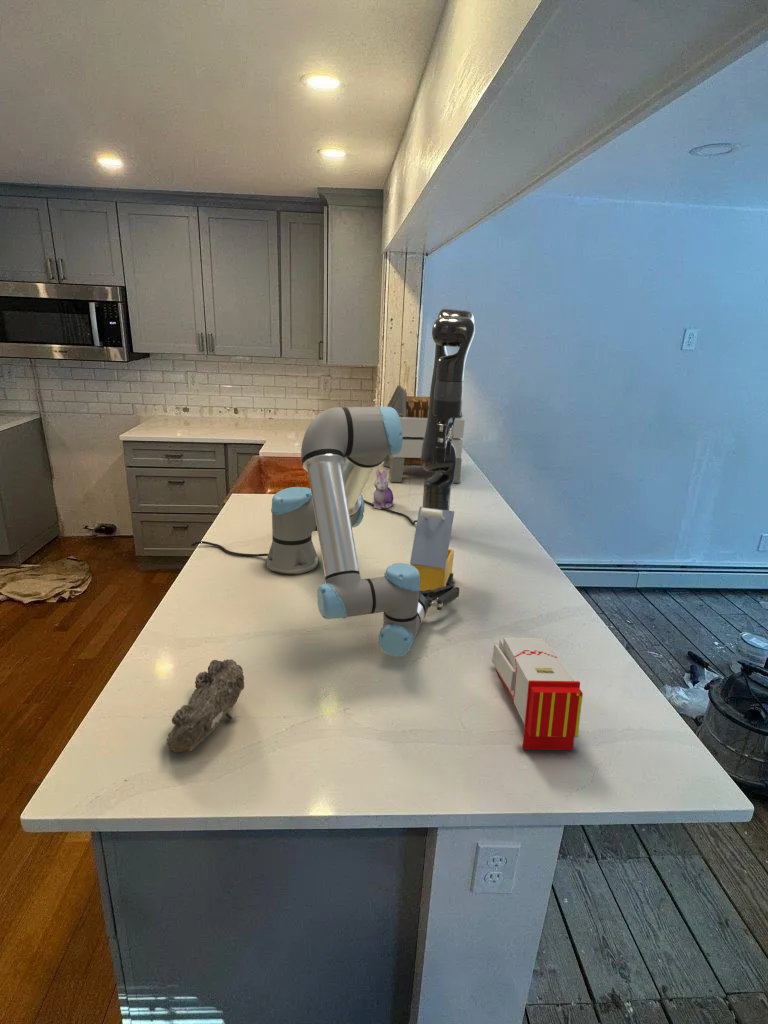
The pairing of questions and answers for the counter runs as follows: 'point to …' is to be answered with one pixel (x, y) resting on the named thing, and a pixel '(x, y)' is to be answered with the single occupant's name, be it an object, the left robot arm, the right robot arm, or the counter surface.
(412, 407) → the grey slatted crate
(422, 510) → the lid
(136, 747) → the counter surface
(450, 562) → the chest
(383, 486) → the figurine
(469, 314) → the right robot arm
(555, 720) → the toy
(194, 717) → the fossil
